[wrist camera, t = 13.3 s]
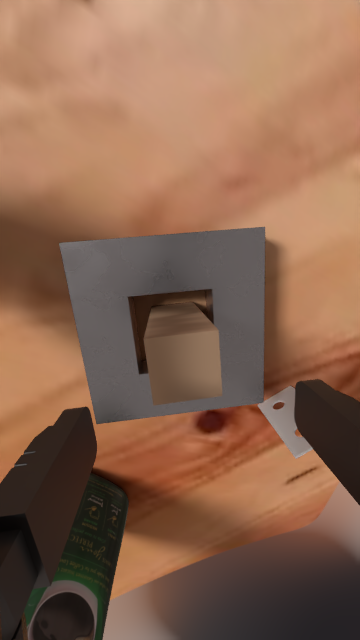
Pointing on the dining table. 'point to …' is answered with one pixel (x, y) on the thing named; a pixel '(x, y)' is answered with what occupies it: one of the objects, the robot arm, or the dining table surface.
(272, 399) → the bracket
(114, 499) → the coffee jar
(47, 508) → the robot arm
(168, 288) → the square hole plate
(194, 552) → the dining table surface
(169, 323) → the tan square peg
